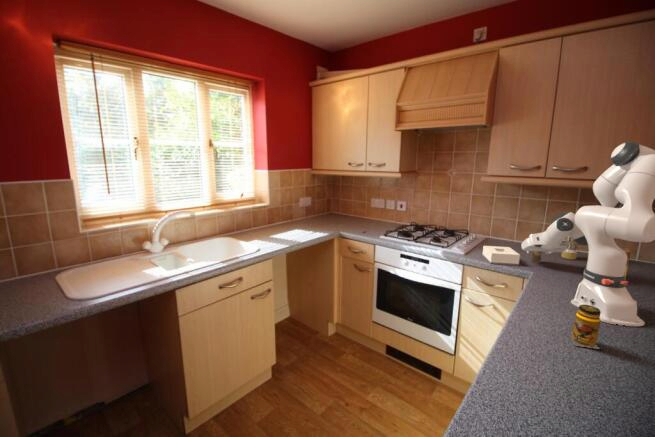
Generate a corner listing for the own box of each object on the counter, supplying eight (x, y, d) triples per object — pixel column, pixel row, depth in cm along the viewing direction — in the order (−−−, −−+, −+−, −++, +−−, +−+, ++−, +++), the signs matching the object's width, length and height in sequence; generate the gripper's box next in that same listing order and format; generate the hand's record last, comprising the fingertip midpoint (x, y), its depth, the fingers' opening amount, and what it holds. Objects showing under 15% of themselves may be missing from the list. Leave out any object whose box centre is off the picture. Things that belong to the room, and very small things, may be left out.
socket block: (518, 265, 169) (520, 254, 167) (490, 263, 171) (491, 253, 169) (508, 257, 182) (509, 247, 181) (482, 255, 184) (483, 245, 183)
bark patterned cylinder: (570, 256, 185) (578, 214, 180) (578, 260, 178) (586, 216, 173) (558, 255, 185) (565, 214, 180) (565, 259, 179) (573, 216, 174)
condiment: (575, 347, 98) (582, 311, 96) (563, 332, 106) (569, 299, 104) (603, 351, 96) (611, 315, 94) (589, 335, 104) (595, 302, 102)
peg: (541, 263, 172) (544, 247, 170) (533, 263, 173) (536, 247, 171) (538, 261, 176) (540, 245, 174) (530, 260, 177) (532, 245, 175)
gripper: (570, 236, 162) (556, 248, 174) (526, 234, 166) (516, 246, 177) (573, 247, 159) (560, 259, 170) (529, 244, 162) (518, 256, 174)
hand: (537, 252), depth 174 cm, fingers open, 8 cm apart
